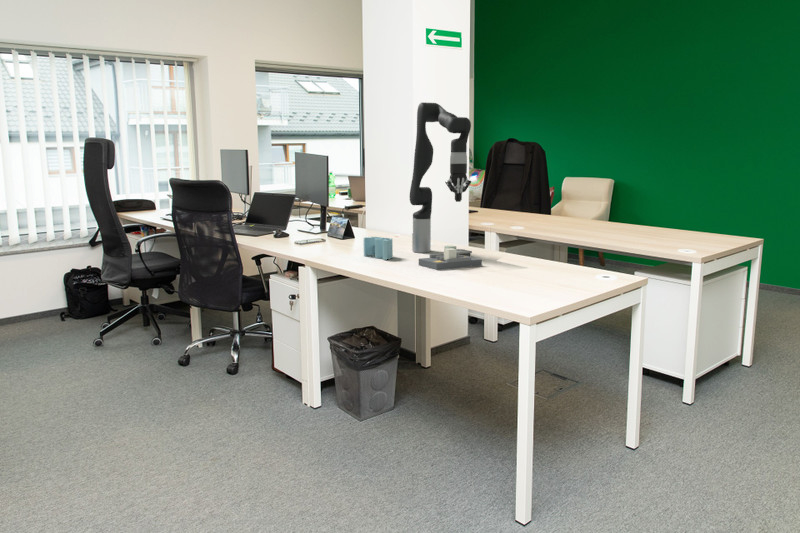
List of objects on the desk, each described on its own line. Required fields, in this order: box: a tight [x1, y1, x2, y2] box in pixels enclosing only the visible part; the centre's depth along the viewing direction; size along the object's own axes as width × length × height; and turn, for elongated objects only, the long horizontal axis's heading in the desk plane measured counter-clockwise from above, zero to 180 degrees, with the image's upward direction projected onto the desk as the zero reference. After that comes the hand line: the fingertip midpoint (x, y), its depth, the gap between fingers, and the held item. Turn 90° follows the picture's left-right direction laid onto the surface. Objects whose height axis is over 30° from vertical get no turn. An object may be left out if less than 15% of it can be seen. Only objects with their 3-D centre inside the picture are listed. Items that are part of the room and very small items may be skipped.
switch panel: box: [418, 252, 483, 271], centre depth 288 cm, size 16×24×4 cm, turn 118°
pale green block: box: [443, 244, 457, 250], centre depth 293 cm, size 4×4×5 cm
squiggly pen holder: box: [363, 236, 394, 261], centre depth 315 cm, size 18×10×9 cm, turn 50°
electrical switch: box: [456, 248, 473, 257], centre depth 310 cm, size 9×5×9 cm
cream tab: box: [443, 248, 457, 261], centre depth 282 cm, size 4×4×5 cm
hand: (458, 201), depth 286 cm, fingers closed
